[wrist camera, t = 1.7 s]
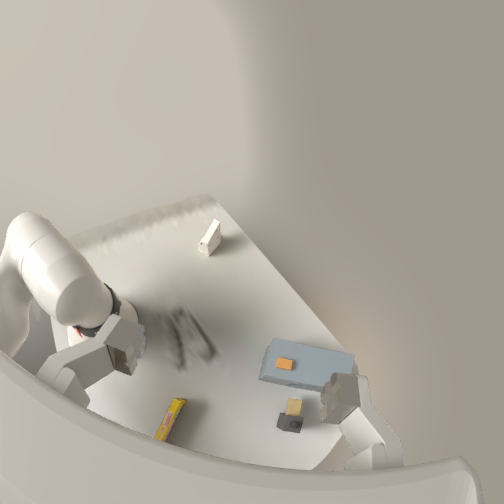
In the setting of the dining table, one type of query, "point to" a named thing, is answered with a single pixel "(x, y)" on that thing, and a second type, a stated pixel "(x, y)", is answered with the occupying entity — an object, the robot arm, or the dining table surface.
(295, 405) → the plug
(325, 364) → the socket
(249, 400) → the dining table surface
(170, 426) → the candy box
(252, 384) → the dining table surface
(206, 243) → the white wedge bracket
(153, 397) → the dining table surface
